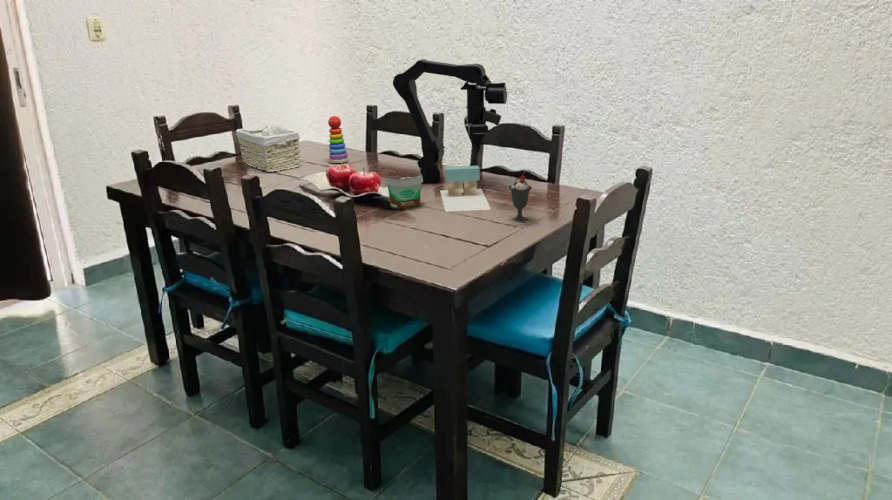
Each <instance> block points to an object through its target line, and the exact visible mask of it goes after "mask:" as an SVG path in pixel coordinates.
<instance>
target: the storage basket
mask: <svg viewBox="0 0 892 500" xmlns="http://www.w3.org/2000/svg"><path fill="white" fill-rule="evenodd" d="M257 134H261V135H257ZM235 135H236V138H237V142H238V144H239V150H240V154H241V159H242V162H245V163H248V164H250V165H252V166H255V167H258V168H260V169H263V170H267V171H272V170H278V169H283V168H288V167H291V166H295V165H300V163H301V161H300V160H301V159H300V142H299V141H300V135H299V132H298V131H296V130H294V129H289V128H287V127H283V126H280V125H274V124H268V123H267V124H265V125H257V126H256V125H255V126H249V127H244V128H238V129H236V131H235Z"/></svg>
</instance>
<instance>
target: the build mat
mask: <svg viewBox="0 0 892 500" xmlns="http://www.w3.org/2000/svg"><path fill="white" fill-rule="evenodd" d="M461 192H462V196H454V197H449V194H448V189H447V190H446V189H443V190H440V195H441V198H442V199H441V200H442V204H443V208H444V212H446V213H449V212H466V211H467V212H469V211H470V212H471V211H473V212H474V211H490V210H491V208H492V207H490V204H489V202H488V200H487V198H486V196H485V194H484V191H483V190H482V188H477V196H464V193H463V189H461Z"/></svg>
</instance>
